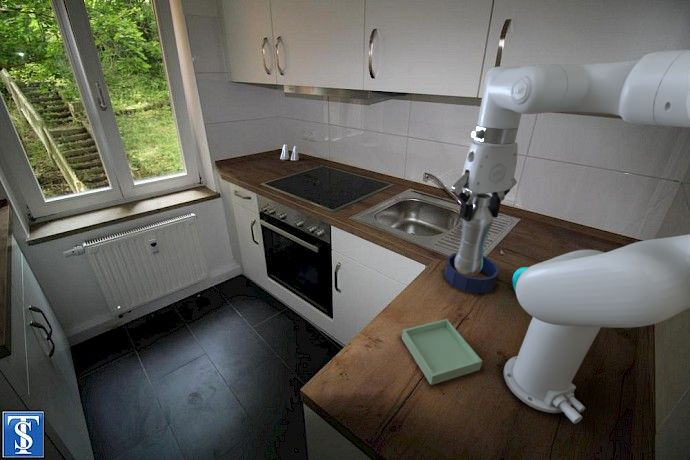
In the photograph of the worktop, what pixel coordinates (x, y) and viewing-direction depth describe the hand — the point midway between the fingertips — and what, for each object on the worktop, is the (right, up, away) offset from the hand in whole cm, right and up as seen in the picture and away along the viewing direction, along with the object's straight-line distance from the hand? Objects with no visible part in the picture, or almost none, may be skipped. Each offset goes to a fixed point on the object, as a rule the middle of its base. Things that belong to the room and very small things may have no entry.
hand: (478, 216), depth 71 cm
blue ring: (+8, -18, +26) cm, 33 cm away
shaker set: (-68, +44, +143) cm, 164 cm away
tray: (-9, -31, +1) cm, 33 cm away
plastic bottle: (0, -14, +7) cm, 15 cm away
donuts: (+24, -22, +19) cm, 38 cm away
